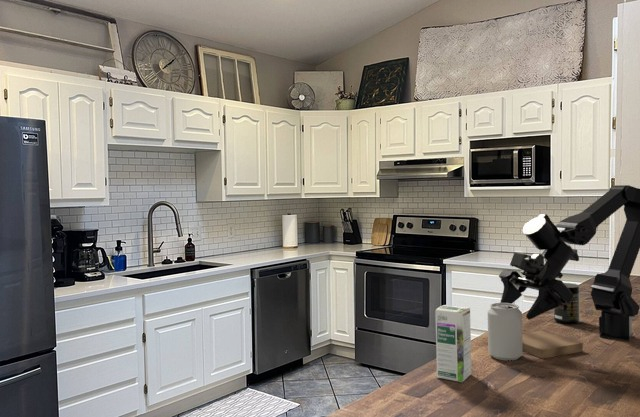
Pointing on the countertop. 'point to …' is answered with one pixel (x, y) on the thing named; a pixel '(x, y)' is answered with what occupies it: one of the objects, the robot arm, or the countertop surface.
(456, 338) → the syrup box
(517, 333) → the can
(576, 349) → the tan board
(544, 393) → the countertop surface
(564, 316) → the supplement container
